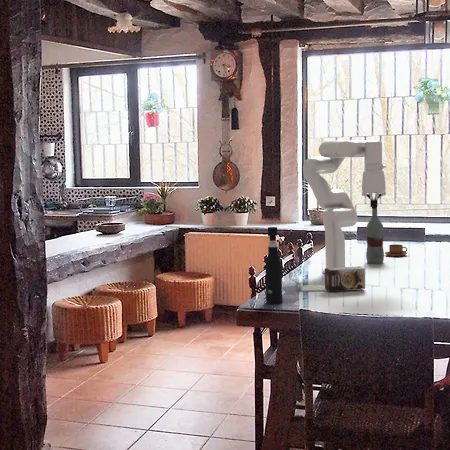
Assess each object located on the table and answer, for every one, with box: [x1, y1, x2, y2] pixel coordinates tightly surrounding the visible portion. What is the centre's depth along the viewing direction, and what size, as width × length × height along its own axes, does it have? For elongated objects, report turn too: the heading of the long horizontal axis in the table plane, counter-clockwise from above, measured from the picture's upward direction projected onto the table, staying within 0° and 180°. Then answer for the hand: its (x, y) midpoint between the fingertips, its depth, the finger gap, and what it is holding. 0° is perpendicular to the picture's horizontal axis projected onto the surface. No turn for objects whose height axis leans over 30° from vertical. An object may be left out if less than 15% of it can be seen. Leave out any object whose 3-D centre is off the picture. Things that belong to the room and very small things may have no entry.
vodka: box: [365, 206, 385, 265], centre depth 369 cm, size 9×9×30 cm
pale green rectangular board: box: [297, 282, 361, 292], centre depth 302 cm, size 10×26×2 cm, turn 85°
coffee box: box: [324, 265, 366, 292], centre depth 297 cm, size 9×6×16 cm
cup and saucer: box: [384, 243, 408, 258], centre depth 393 cm, size 12×12×6 cm
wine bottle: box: [264, 226, 283, 305], centre depth 276 cm, size 6×6×30 cm
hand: (373, 208), depth 314 cm, fingers closed
